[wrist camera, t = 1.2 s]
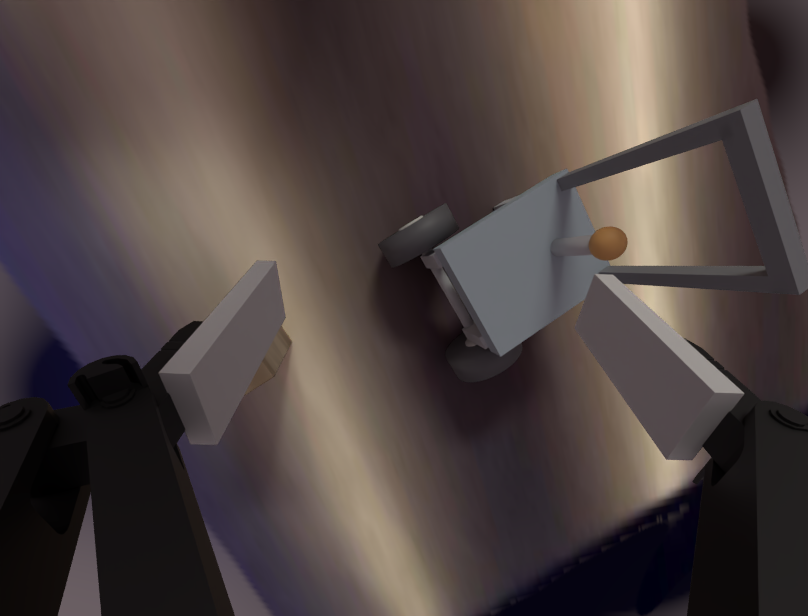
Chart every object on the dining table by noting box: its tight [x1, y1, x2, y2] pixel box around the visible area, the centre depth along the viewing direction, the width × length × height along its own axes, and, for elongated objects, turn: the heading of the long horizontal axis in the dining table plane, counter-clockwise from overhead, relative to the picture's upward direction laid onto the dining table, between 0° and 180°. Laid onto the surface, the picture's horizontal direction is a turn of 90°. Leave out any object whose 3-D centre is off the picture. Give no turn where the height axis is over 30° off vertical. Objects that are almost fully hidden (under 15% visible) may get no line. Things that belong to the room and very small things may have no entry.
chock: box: [244, 326, 292, 396], centre depth 27 cm, size 5×5×11 cm
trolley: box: [378, 99, 808, 382], centre depth 26 cm, size 15×15×22 cm
